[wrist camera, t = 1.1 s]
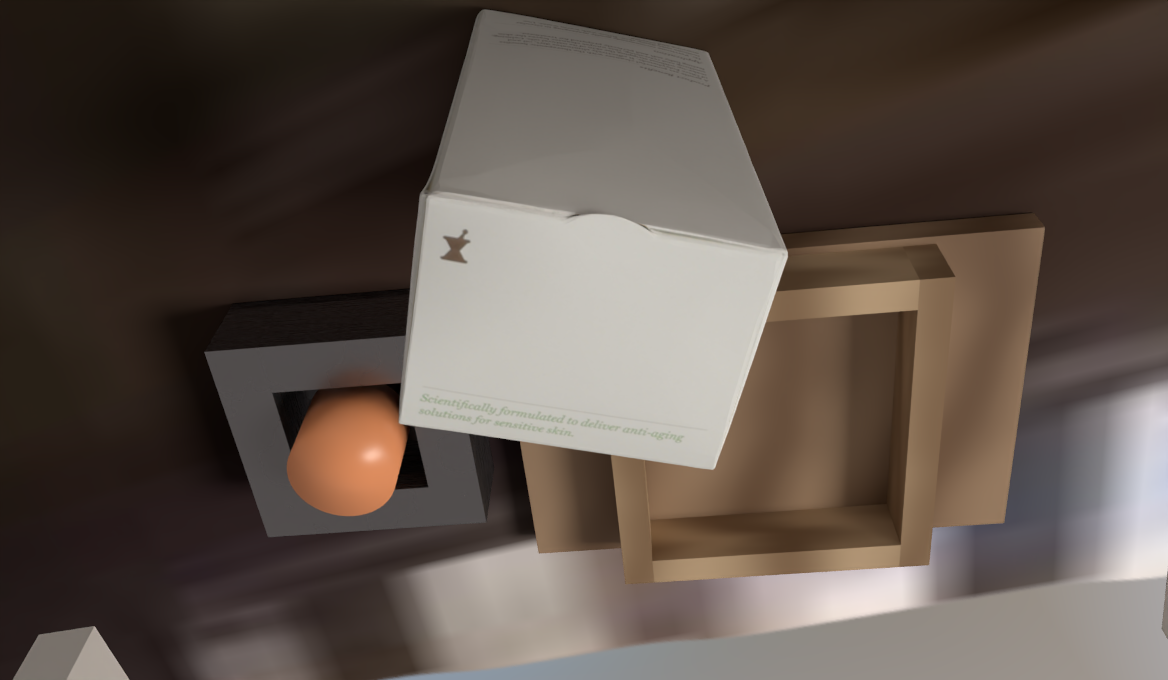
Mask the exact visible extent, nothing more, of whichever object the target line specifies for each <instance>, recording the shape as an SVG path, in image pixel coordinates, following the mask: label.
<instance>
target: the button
mask: <svg viewBox="0 0 1168 680" xmlns="http://www.w3.org/2000/svg"><path fill="white" fill-rule="evenodd" d="M399 404H400V396H399V394H398V393H396V392H395V391H394V390H393V389H392V388H390V387H389V386H387V385H385V384H381V385H368V386H355V387H342V388H329V389H319V390H318V391H317V392H316V393H315V395H314V396H313V398H312V400H311V403H310V405H309V408H308V410H307V413H306V415H305V417H304V420H303V422H302V425H301V427H300V430H299V432H298V435H297V437H296V440H295V442H294V445H293V447H292V450H291V452H290V455H289V457H288V461H287V475H288V479H289V481H290V484H291V486H292V487H293V489H294V490H295V492H296V493H297V494H298V495H299V496H300V497H301V498H302V499H303V500H304V501H305V502H307V503H308V504H309V505H311V506H313V507H314V508H316V509H318V510H321V511H323V512H326V513H329V514H333V515H339V516H358V515H363V514H367V513H370V512H373V511H375V510H377V509H378V508H380V507H381V506H383V505H384V504H385V503H386V502H387V501H388V500H389V499H390V497H391V496H392V494H393V492H394V489H395V486H396V482H397V478H398V474H399V470H400V467H401V463H402V459H403V455H404V451H405V447H406V443H407V439H408V435H409V432H410V426H411V425H404V424H400V423H399Z"/></svg>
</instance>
